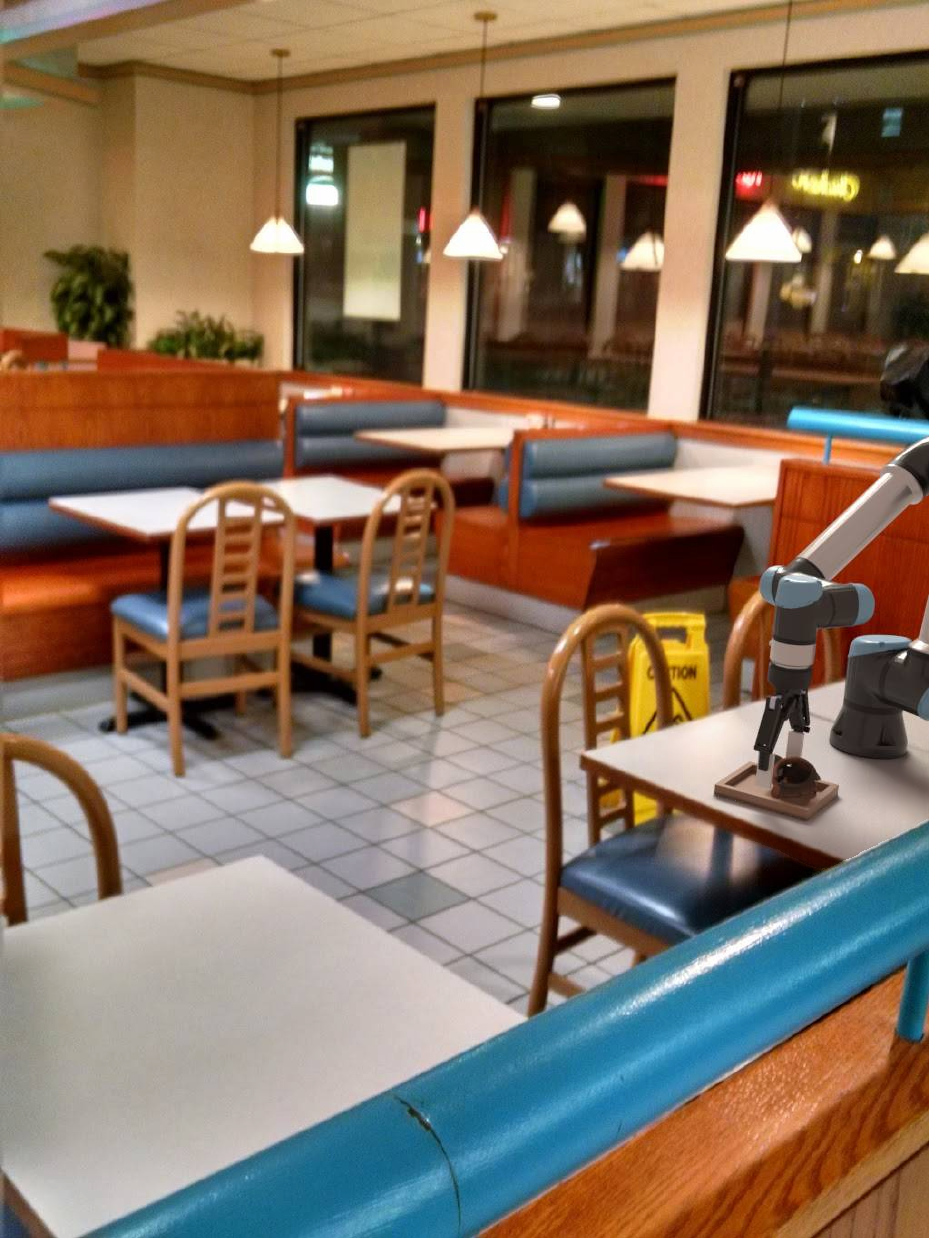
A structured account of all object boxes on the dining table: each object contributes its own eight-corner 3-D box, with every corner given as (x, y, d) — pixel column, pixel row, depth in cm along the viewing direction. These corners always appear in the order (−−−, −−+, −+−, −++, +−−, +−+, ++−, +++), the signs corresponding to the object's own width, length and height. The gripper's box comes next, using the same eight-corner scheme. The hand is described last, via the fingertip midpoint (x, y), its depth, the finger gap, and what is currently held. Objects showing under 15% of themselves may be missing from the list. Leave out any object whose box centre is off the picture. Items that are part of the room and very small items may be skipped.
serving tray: (748, 771, 231) (749, 761, 231) (837, 795, 221) (839, 784, 221) (713, 794, 219) (714, 784, 219) (806, 821, 209) (807, 810, 209)
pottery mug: (832, 800, 218) (831, 770, 213) (793, 829, 216) (792, 799, 210) (784, 763, 227) (782, 734, 222) (746, 790, 224) (743, 761, 219)
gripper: (797, 645, 226) (785, 752, 231) (741, 673, 206) (729, 789, 212) (836, 653, 222) (823, 762, 227) (783, 683, 202) (770, 801, 207)
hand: (778, 775), depth 219 cm, fingers open, 13 cm apart
